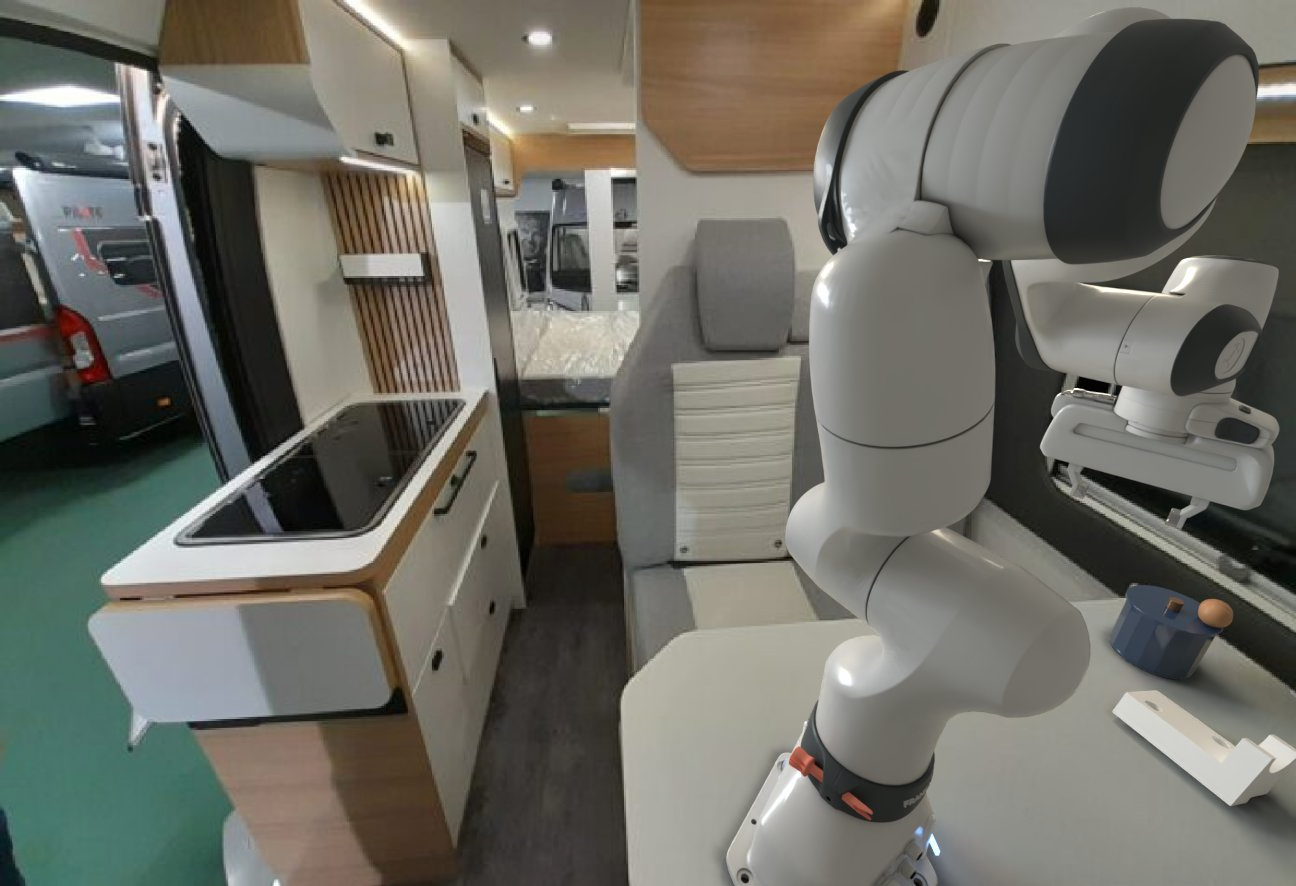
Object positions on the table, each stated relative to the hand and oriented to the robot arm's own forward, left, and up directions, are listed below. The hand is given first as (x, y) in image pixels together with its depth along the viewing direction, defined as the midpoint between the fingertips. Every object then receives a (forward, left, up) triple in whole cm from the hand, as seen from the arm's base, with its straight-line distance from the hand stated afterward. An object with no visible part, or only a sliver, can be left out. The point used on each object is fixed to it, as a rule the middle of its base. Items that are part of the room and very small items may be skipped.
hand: (1122, 509), depth 67 cm
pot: (+18, -9, -29) cm, 35 cm away
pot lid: (+18, -9, -21) cm, 29 cm away
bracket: (0, -15, -29) cm, 33 cm away
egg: (+18, -12, -20) cm, 30 cm away
